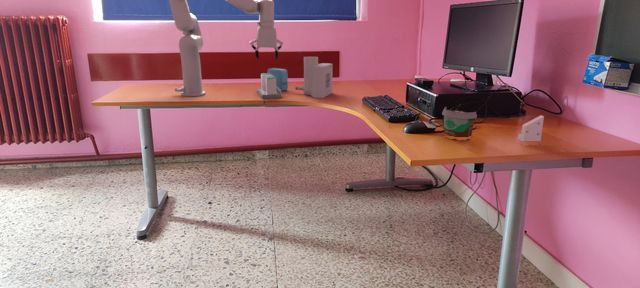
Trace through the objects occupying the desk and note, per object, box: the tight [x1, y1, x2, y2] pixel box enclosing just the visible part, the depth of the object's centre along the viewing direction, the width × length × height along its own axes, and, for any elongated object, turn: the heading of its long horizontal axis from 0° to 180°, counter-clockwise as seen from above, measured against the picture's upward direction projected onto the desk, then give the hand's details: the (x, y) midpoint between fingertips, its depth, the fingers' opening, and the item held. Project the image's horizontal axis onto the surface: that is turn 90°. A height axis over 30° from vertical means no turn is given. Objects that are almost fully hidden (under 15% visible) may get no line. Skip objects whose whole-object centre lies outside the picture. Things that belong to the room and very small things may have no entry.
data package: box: [267, 67, 289, 92], centre depth 250 cm, size 12×4×12 cm, turn 48°
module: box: [262, 75, 274, 93], centre depth 233 cm, size 5×8×8 cm, turn 16°
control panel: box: [295, 56, 334, 99], centre depth 234 cm, size 16×19×20 cm
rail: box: [256, 72, 282, 100], centre depth 233 cm, size 10×20×11 cm, turn 16°
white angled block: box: [517, 114, 545, 142], centre depth 144 cm, size 4×10×9 cm
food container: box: [441, 106, 478, 137], centre depth 151 cm, size 12×6×10 cm, turn 45°
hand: (266, 58), depth 229 cm, fingers open, 9 cm apart
